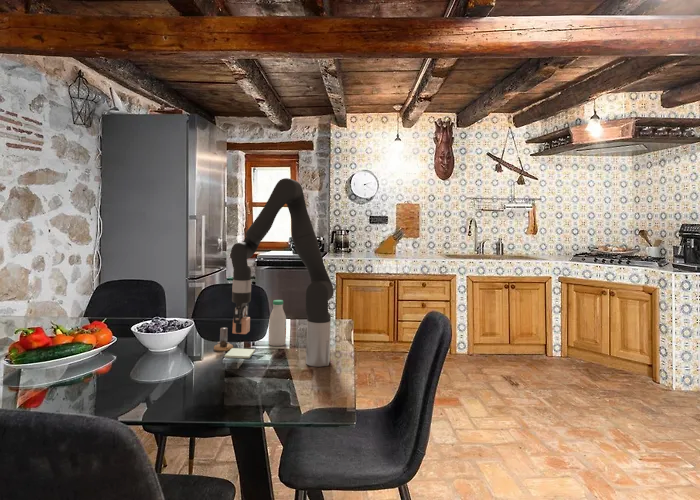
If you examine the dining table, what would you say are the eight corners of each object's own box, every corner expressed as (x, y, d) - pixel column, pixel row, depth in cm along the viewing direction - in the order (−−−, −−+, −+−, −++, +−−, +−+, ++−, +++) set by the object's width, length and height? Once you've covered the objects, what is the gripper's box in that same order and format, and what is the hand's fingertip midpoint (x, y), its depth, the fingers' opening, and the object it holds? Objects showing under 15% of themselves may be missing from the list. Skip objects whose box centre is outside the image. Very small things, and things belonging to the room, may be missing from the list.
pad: (255, 351, 185) (255, 349, 185) (249, 358, 176) (249, 356, 175) (232, 350, 186) (232, 348, 186) (224, 357, 176) (224, 355, 176)
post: (235, 346, 191) (235, 326, 190) (229, 352, 183) (230, 331, 182) (217, 345, 191) (217, 325, 190) (211, 351, 183) (211, 330, 182)
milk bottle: (284, 346, 193) (285, 302, 192) (266, 346, 193) (267, 301, 192) (286, 342, 201) (288, 299, 200) (270, 341, 201) (271, 298, 200)
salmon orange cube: (249, 330, 183) (250, 316, 182) (246, 334, 177) (246, 319, 177) (236, 329, 183) (237, 315, 183) (232, 333, 177) (233, 318, 177)
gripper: (246, 293, 172) (244, 335, 173) (255, 288, 186) (253, 327, 187) (227, 293, 172) (226, 334, 173) (237, 287, 186) (236, 326, 187)
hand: (240, 330), depth 180 cm, fingers closed on salmon orange cube, 5 cm apart
